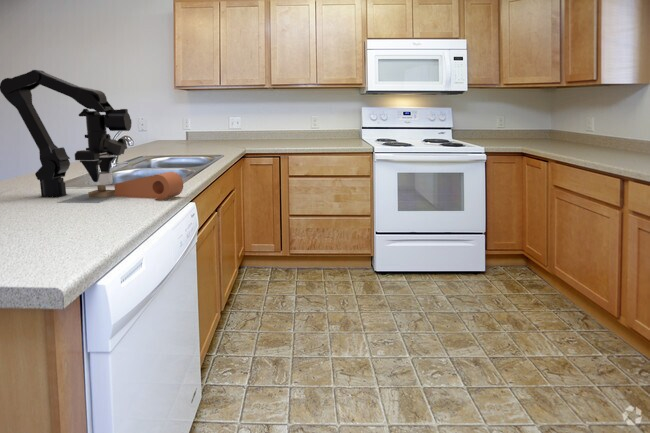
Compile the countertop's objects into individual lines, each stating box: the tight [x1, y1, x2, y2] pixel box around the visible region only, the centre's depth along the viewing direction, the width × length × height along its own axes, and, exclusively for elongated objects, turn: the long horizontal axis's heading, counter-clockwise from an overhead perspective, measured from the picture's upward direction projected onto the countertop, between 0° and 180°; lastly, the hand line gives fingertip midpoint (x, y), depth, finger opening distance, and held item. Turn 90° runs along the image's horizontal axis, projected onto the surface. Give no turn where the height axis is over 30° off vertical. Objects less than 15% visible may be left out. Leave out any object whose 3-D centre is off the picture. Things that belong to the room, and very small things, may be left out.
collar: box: [88, 171, 114, 186], centre depth 183 cm, size 6×6×4 cm
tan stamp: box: [87, 185, 115, 197], centre depth 183 cm, size 6×6×6 cm
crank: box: [113, 171, 184, 201], centre depth 182 cm, size 20×8×8 cm, turn 72°
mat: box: [56, 193, 118, 204], centre depth 179 cm, size 13×17×1 cm
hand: (100, 180), depth 183 cm, fingers closed on collar, 6 cm apart
